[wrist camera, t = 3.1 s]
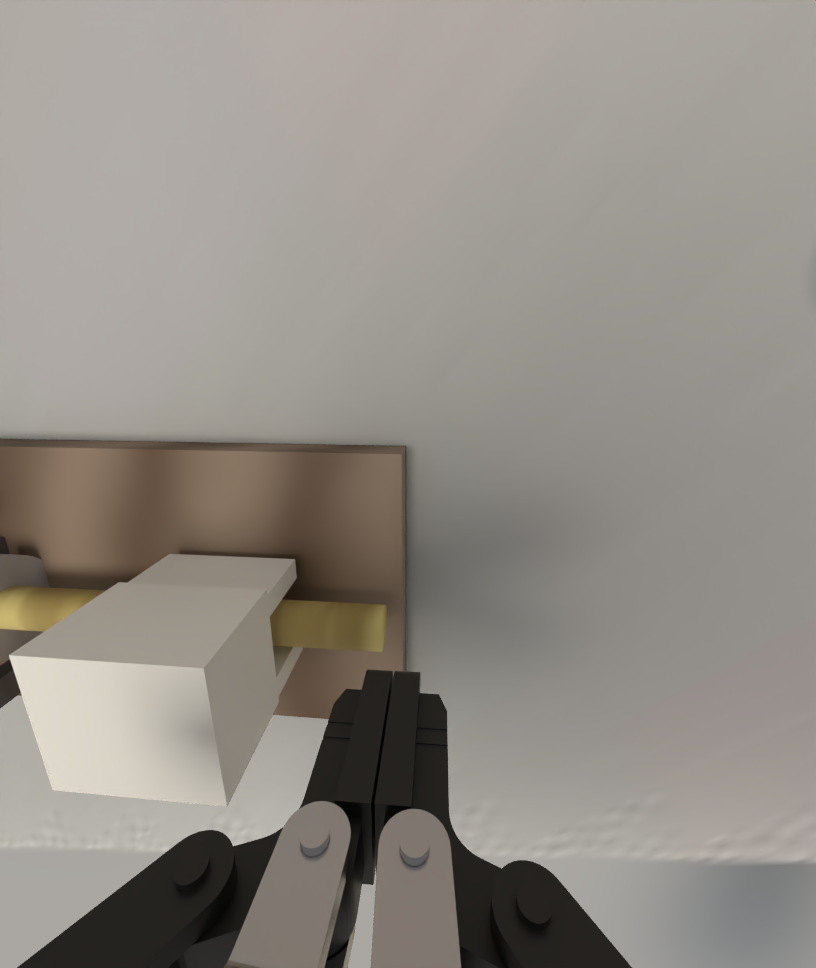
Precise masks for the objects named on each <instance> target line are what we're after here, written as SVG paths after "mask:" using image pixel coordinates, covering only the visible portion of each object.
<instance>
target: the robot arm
mask: <svg viewBox="0 0 816 968" xmlns="http://www.w3.org/2000/svg"><path fill="white" fill-rule="evenodd" d="M375 868H376V891H375V907H374V923H373V939H372V955H371V968H632V967H631V966H630V965H629V964H628V962H627V961H626V960H625V959H624V958H623V956H622V955H621V954H620V953H619V952H618V951H617V949H616V948H615V947H614V946H613V945H612V943H611V942H610V941H609V940H608V939H607V937H605V935H604V934H603V933H602V931H601V930H600V929H599V928H598V927H597V925H596V924H595V923H594V922H593V921H592V919H591V918H590V917H589V916H588V915H587V913H586V912H585V911H584V910H583V909H582V907H580V905H579V904H578V903H577V901H576V900H575V899H574V898H573V897H572V896H571V894H570V893H569V892H568V891H567V890H566V888H565V887H564V886H563V885H562V884H561V882H560V881H559V880H558V879H557V878H556V877H555V876H554V875H553V874H552V873H551V872H550V871H548V870H547V869H546V868H544V867H542V866H541V865H539V864H536V863H534V862H530V861H524V860H519V861H514V862H511V863H509V864H507V865H506V866H505V867H503V868H502V869H501V868H499V867H497V866H495V865H493V864H491V863H489V862H487V861H485V860H483V859H481V858H479V857H477V856H476V855H474V854H473V853H471V852H470V851H469V850H468V849H467V848H466V847H465V846H464V845H463V844H462V843H461V842H460V840H459V839H458V838H457V836H456V834H455V832H454V830H453V828H452V825H451V822H450V817H449V800H448V749H447V710H446V708H445V706H444V704H443V702H442V700H441V698H440V696H439V694H423V693H420V672H405V671H395V672H394V677H393V671H386V670H369V669H367V671H366V674H365V678H364V682H363V686H362V690H358V689H345V691H344V692H343V693H342V694H341V695H340V697H339V698H338V699H337V700H336V701H335V703H334V704H333V708H332V711H331V714H330V717H329V720H328V725H327V727H326V730H325V733H324V736H323V740H322V743H321V746H320V749H319V752H318V755H317V759H316V762H315V765H314V768H313V771H312V774H311V778H310V781H309V784H308V787H307V790H306V794H305V797H304V800H303V802H302V805H301V806H300V808H299V809H298V810H297V811H296V812H295V813H294V814H293V815H292V816H291V817H290V818H289V819H288V821H287V822H286V824H285V825H284V827H283V828H282V829H280V830H279V831H277V832H276V833H274V834H272V835H270V836H267V837H264V838H262V839H258V840H255V841H251V842H247V843H244V844H240V845H237V846H232V843H231V841H230V840H229V838H228V837H227V836H226V835H225V834H223V833H221V832H219V831H214V830H205V831H201V832H197V833H195V834H192V835H190V836H188V837H187V838H185V839H183V840H182V841H180V842H179V843H178V844H176V845H175V846H174V847H172V848H171V849H170V850H169V851H167V852H166V853H165V854H163V855H162V856H161V857H160V858H158V859H157V860H156V861H154V862H153V863H152V864H151V865H149V866H148V867H147V868H145V869H144V870H143V871H142V872H140V873H139V874H138V875H136V876H135V877H134V878H132V879H131V880H130V881H129V882H127V883H126V884H125V885H123V886H122V887H121V888H120V889H118V890H117V891H116V892H114V893H113V894H112V895H110V896H109V897H108V898H107V899H105V900H104V901H103V902H101V903H100V904H99V905H98V906H96V907H95V908H94V909H92V910H91V911H90V912H89V913H87V914H86V915H85V916H84V917H82V918H81V919H79V920H78V921H77V922H76V923H74V924H73V925H72V926H70V927H69V928H68V929H67V930H65V931H64V932H63V933H61V934H60V935H59V936H58V937H56V938H55V939H54V940H52V941H51V942H50V943H49V944H47V945H46V946H45V947H43V948H42V949H41V950H40V951H38V952H37V953H36V954H34V955H33V956H32V957H30V958H29V959H28V960H26V961H25V962H24V963H23V964H21V965H20V966H19V967H17V968H348V963H349V958H350V954H351V949H352V944H353V939H354V933H355V923H356V918H357V912H358V905H359V899H360V893H361V886H362V884H371V885H373V884H374V876H375Z"/></svg>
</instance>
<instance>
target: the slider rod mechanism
mask: <svg viewBox="0 0 816 968" xmlns="http://www.w3.org/2000/svg"><path fill="white" fill-rule="evenodd" d="M169 554H185V555H209V556H232V557H256V558H280V559H295V563H296V575H297V579H296V580H295V581H294V583H293V584H292V586H291V587H290V589H289V590H288V591H287V593H286V594H285V596H284V597H283V599H282V600H281V601H280V603H279V604H278V606H277V607H276V609H275V610H274V611H273V613H272V614H271V616H270V624H271V634H272V643H273V646H288V647H303V650H302V652H301V654H300V656H299V657H298V659H297V661H296V663H295V665H294V667H293V669H292V671H291V673H290V675H289V677H288V679H287V681H286V683H285V685H284V687H283V689H282V691H281V693H280V695H279V697H278V698H279V703H278V705H277V707H276V709H275V711H274V713H273V715H284V716H297V717H310V718H323V719H329V717H330V714H331V711H332V708H333V704H334V703H335V701H336V700H337V699H338V698H339V697H340V695H341V694H342V693H343V692H344V691H345V689H358V690H362V686H363V682H364V678H365V674H366V671H367V669H369V670H386V671H393V677H394V672H395V671H405V672H406V446H365V445H309V444H252V443H195V442H138V441H81V440H25V439H0V708H1V707H3V706H4V705H5V704H7V703H8V702H9V701H11V700H12V699H13V698H14V697H16V696H17V695H21V696H22V694H21V691H20V688H19V685H18V682H17V679H16V676H15V673H14V670H13V667H12V664H11V661H10V658H9V655H10V654H11V653H13V652H14V651H16V650H17V649H19V648H20V647H22V646H23V645H25V644H26V643H28V642H29V641H31V640H32V639H34V638H35V637H37V636H38V635H40V634H41V633H43V632H45V631H46V630H48V629H49V628H51V627H52V626H54V625H55V624H57V623H58V622H60V621H61V620H63V619H64V618H66V617H67V616H69V615H70V614H72V613H73V612H75V611H76V610H78V609H79V608H81V607H82V606H84V605H85V604H87V603H88V602H90V601H91V600H93V599H94V598H96V597H97V596H99V595H100V594H102V593H103V592H105V591H106V590H108V589H109V588H111V587H112V586H114V585H115V584H117V583H118V582H125V583H128V582H129V581H130V580H132V579H133V578H135V577H136V576H138V575H139V574H141V573H142V572H144V571H145V570H147V569H148V568H150V567H151V566H152V565H154V564H155V563H157V562H158V561H160V560H161V559H163V558H164V557H166V556H167V555H169Z"/></svg>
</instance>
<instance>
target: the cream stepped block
mask: <svg viewBox="0 0 816 968" xmlns="http://www.w3.org/2000/svg"><path fill="white" fill-rule="evenodd" d="M296 579H297V575H296V563H295V559H280V558H256V557H232V556H209V555H185V554H169V555H167V556H166V557H164V558H163V559H161V560H160V561H158V562H157V563H155V564H154V565H152V566H151V567H150V568H148V569H147V570H145V571H144V572H142V573H141V574H139V575H138V576H136V577H135V578H133V579H132V580H130V581H129V582H128V583H125V582H118V583H117V584H115V585H114V586H112V587H111V588H109V589H108V590H106V591H105V592H103V593H102V594H100V595H99V596H97V597H96V598H94V599H93V600H91V601H90V602H88V603H87V604H85V605H84V606H82V607H81V608H79V609H78V610H76V611H75V612H73V613H72V614H70V615H69V616H67V617H66V618H64V619H63V620H61V621H60V622H58V623H57V624H55V625H54V626H52V627H51V628H49V629H48V630H46V631H45V632H43V633H41V634H40V635H38V636H37V637H35V638H34V639H32V640H31V641H29V642H28V643H26V644H25V645H23V646H22V647H20V648H19V649H17V650H16V651H14V652H13V653H11V654H10V655H9V658H10V661H11V664H12V667H13V670H14V673H15V676H16V679H17V682H18V685H19V688H20V691H21V694H22V698H23V701H24V704H25V707H26V710H27V713H28V716H29V719H30V722H31V725H32V728H33V731H34V734H35V737H36V740H37V743H38V747H39V750H40V753H41V756H42V759H43V762H44V765H45V768H46V771H47V774H48V777H49V780H50V783H51V786H52V789H53V790H58V791H68V792H79V793H89V794H99V795H109V796H120V797H130V798H140V799H151V800H161V801H171V802H182V803H192V804H202V805H213V806H223V807H227V806H228V804H229V802H230V800H231V798H232V796H233V794H234V792H235V790H236V788H237V786H238V784H239V782H240V780H241V778H242V776H243V774H244V772H245V770H246V768H247V766H248V764H249V762H250V760H251V757H252V755H253V753H254V751H255V749H256V747H257V745H258V743H259V741H260V739H261V737H262V735H263V733H264V731H265V729H266V727H267V725H268V723H269V721H270V719H271V717H272V715H273V713H274V711H275V709H276V707H277V705H278V703H279V698H278V697H279V695H280V693H281V691H282V689H283V687H284V685H285V683H286V681H287V679H288V677H289V675H290V673H291V671H292V669H293V667H294V665H295V663H296V661H297V659H298V657H299V656H300V654H301V652H302V650H303V647H288V646H273V643H272V634H271V624H270V616H271V614H272V613H273V611H274V610H275V609H276V607H277V606H278V604H279V603H280V601H281V600H282V599H283V597H284V596H285V594H286V593H287V591H288V590H289V589H290V587H291V586H292V584H293V583H294V581H295V580H296Z"/></svg>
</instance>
